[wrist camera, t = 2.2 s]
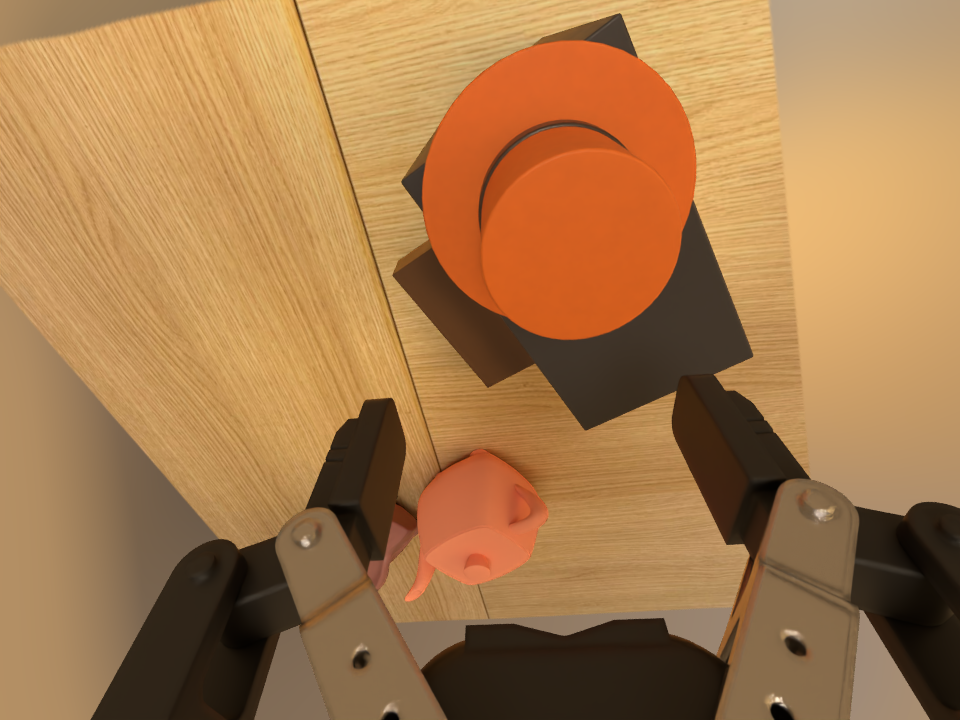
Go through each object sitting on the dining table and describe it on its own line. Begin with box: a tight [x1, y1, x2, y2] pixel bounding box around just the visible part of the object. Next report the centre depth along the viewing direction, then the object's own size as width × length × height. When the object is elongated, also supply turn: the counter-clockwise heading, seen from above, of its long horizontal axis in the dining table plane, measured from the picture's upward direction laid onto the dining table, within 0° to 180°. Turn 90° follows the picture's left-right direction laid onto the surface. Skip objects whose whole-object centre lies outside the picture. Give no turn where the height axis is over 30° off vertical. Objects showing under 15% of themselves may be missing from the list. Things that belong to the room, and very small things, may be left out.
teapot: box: [405, 449, 549, 601], centre depth 49 cm, size 20×12×12 cm, turn 133°
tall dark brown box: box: [401, 13, 753, 430], centre depth 25 cm, size 8×14×20 cm, turn 34°
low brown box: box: [393, 240, 535, 388], centre depth 38 cm, size 9×14×3 cm, turn 34°
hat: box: [422, 40, 696, 340], centre depth 13 cm, size 9×9×5 cm
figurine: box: [367, 504, 418, 591], centre depth 55 cm, size 12×10×15 cm
